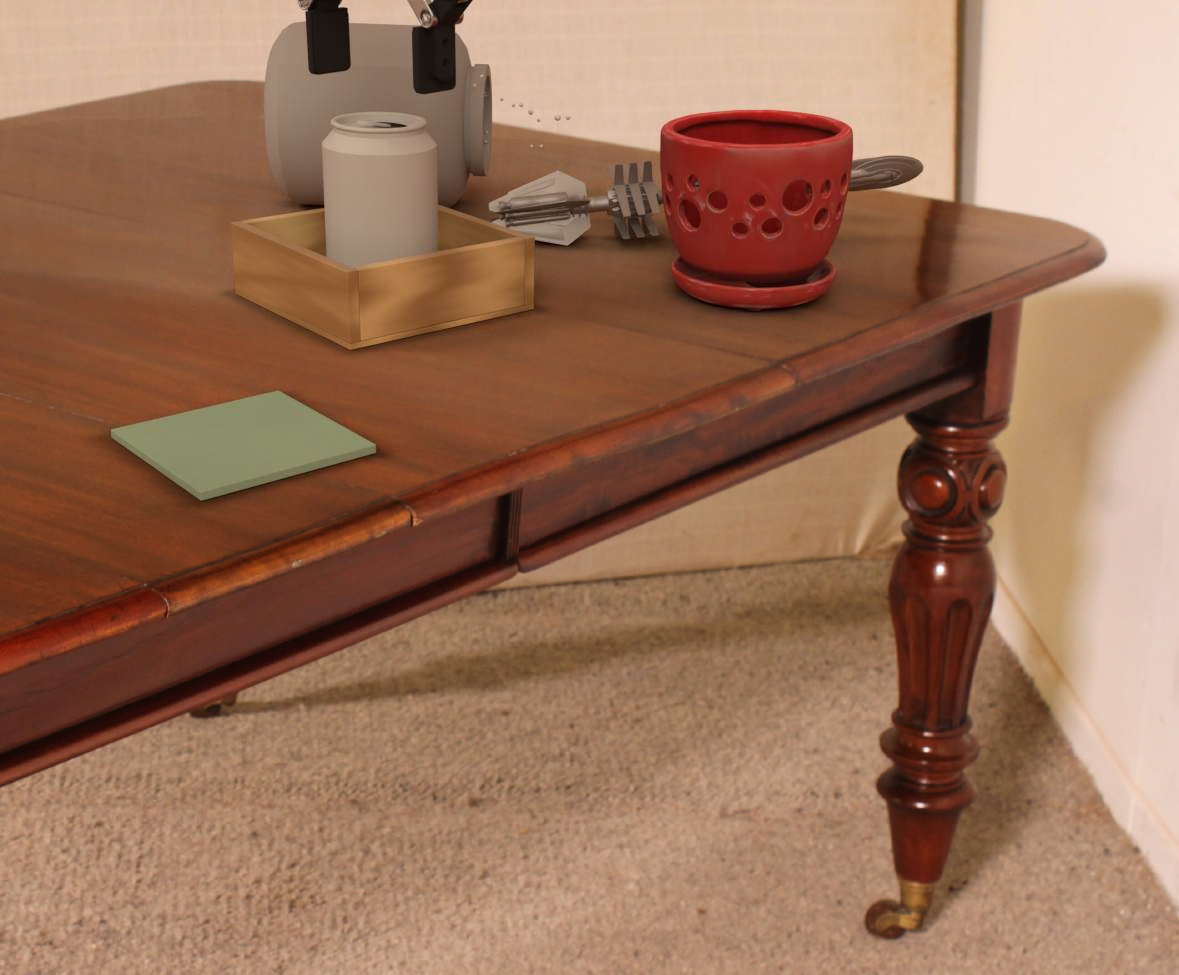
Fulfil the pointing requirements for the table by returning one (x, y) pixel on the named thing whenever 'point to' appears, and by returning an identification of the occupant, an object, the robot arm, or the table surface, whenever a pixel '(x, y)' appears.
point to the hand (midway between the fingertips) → (381, 81)
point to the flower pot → (754, 204)
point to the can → (379, 188)
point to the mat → (241, 444)
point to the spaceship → (638, 199)
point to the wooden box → (383, 278)
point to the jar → (372, 107)
